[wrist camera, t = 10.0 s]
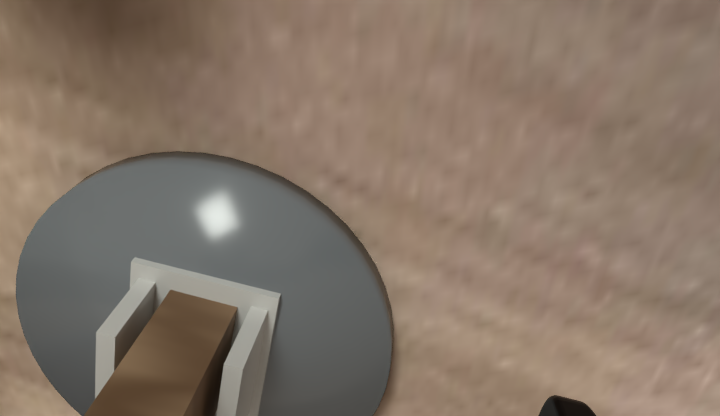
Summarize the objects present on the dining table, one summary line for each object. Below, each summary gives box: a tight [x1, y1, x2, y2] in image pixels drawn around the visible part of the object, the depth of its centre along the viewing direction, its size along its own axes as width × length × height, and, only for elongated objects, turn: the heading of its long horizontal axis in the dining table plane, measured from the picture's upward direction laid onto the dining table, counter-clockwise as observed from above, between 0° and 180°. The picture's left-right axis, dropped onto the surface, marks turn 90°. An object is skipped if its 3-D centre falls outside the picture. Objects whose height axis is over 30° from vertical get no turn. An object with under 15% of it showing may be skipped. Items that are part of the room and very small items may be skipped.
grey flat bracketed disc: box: [16, 151, 393, 416], centre depth 22 cm, size 14×14×4 cm
